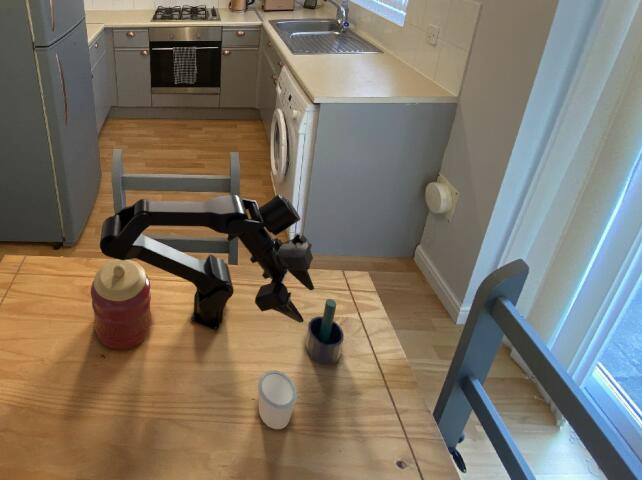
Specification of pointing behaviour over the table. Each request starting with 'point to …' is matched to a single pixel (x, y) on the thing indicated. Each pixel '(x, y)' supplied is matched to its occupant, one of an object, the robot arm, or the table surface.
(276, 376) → the white cylindrical container
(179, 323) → the table surface
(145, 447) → the table surface
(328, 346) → the cup
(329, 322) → the teal green rod
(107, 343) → the kitchen canister
